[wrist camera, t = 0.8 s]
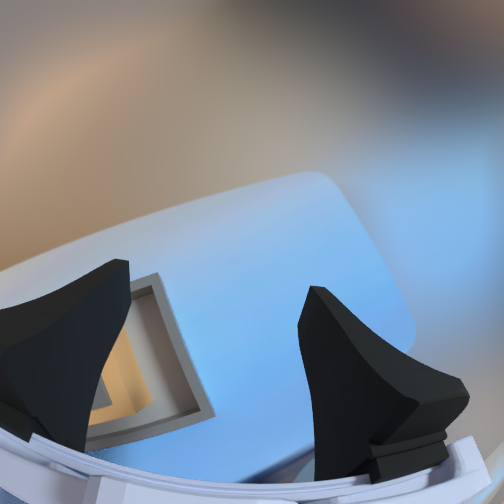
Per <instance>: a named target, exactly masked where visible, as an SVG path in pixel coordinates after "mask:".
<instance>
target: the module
mask: <svg viewBox="0 0 504 504" xmlns="http://www.w3.org/2000/svg"><path fill="white" fill-rule="evenodd" d="M151 402H153V400H152V398H151V396H150V393H149V391H148V389H147V386H146V384H145V381H144V379H143V376H142V374H141V371H140V369H139V366H138V364H137V361H136V358H135V356H134V353H133V350H132V347H131V344H130V341H129V339H128V336H127V333H126V330H125V327H124V326H123V328H122V330H121V332H120V334H119V336H118V338H117V340H116V342H115V344H114V346H113V348H112V350H111V352H110V354H109V357H108V359H107V361H106V363H105V365H104V368H103V370H102V373H101V376H100V379H99V383H98V386H97V390H96V393H95V397H94V401H93V405H92V409H91V414H90V419H89V424H88V426H89V425H94V424H98V423H102V422H107V421H111V420H114V419H118V418H122V417H126V416H130V415H133V414H136V413H138V412H139V411H140V410H142V409H143V408H145V407H146V406H147V405H149V404H150V403H151Z"/></svg>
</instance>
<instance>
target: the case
mask: <svg viewBox="0 0 504 504" xmlns="http://www.w3.org/2000/svg"><path fill="white" fill-rule="evenodd" d="M130 289H131V302H132V303H131V306H130V309H129V312H128V315H127V318H126V321H125V323H124V327H125V330H126V333H127V336H128V339H129V341H130V344H131V347H132V350H133V353H134V356H135V358H136V361H137V364H138V366H139V369H140V371H141V374H142V376H143V379H144V381H145V384H146V386H147V389H148V391H149V393H150V396H151V398H152V400H153V402H151V403H150V404H149V405H147V406H146V407H145V408H143V409H142V410H140V411H139V412H138V413H136V414H133V415H130V416H126V417H122V418H118V419H114V420H111V421H107V422H102V423H98V424H94V425H89V426H88V430H87V436H86V444H85V452H88V451H94V450H99V449H104V448H109V447H114V446H118V445H123V444H127V443H131V442H135V441H139V440H143V439H147V438H150V437H154V436H157V435H161V434H164V433H168V432H171V431H174V430H177V429H180V428H184V427H187V426H190V425H193V424H195V423H198V422H201V421H204V420H207V419H210V418H212V417H215V411H214V408H213V406H212V403H211V401H210V399H209V397H208V395H207V393H206V390H205V388H204V386H203V384H202V381H201V379H200V377H199V374H198V372H197V370H196V368H195V365H194V363H193V360H192V358H191V356H190V353H189V351H188V348H187V346H186V343H185V341H184V338H183V336H182V333H181V331H180V328H179V325H178V323H177V320H176V317H175V315H174V312H173V309H172V306H171V304H170V301H169V298H168V295H167V292H166V290H165V287H164V284H163V281H162V280H161V278H160V276H159V274H158V272H157V273H154V274H151V275H149V276H146V277H143V278H140V279H137V280H135V281H132V282H130Z"/></svg>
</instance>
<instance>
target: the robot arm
mask: <svg viewBox="0 0 504 504" xmlns="http://www.w3.org/2000/svg"><path fill="white" fill-rule="evenodd" d="M131 303H132V302H131V289H130V274H129V261H127V260H120V259H113V260H111V261H109V262H107V263H105V264H103V265H102V266H100V267H98V268H96V269H95V270H93V271H91V272H89V273H88V274H86V275H84V276H82V277H81V278H79V279H77V280H75V281H73V282H71V283H69V284H68V285H66V286H64V287H62V288H60V289H58V290H56V291H54V292H52V293H49V294H47V295H45V296H42V297H40V298H37V299H35V300H32V301H29V302H26V303H23V304H20V305H17V306H13V307H9V308H5V309H1V310H0V487H1V488H3V489H4V490H6V491H8V492H9V493H11V494H12V495H14V496H16V497H17V498H19V499H21V500H23V501H24V502H26V503H28V504H460V503H462V502H464V501H466V500H467V499H469V498H471V497H472V496H474V495H476V494H477V493H479V492H481V491H482V490H484V489H485V488H487V487H488V486H490V485H491V483H492V481H491V479H490V476H489V474H488V471H487V469H486V466H485V464H484V461H483V459H482V457H481V454H480V452H479V450H478V448H477V446H476V443H475V442H474V439H473V437H472V436H468V437H465V438H463V439H460V440H458V441H455V442H453V443H451V444H449V445H448V446H445V444H444V441H443V440H445V439H446V438H447V434H446V431H445V429H446V428H447V427H448V426H449V425H450V424H451V423H452V422H453V421H454V420H455V419H456V418H457V417H458V416H459V415H460V414H461V413H462V411H463V410H464V409H465V408H466V406H467V404H468V402H469V398H470V396H469V393H468V391H467V390H466V388H465V386H464V384H463V383H462V381H461V380H460V379H459V378H456V377H453V376H450V375H448V374H445V373H442V372H440V371H437V370H435V369H433V368H431V367H429V366H427V365H424V364H422V363H420V362H418V361H416V360H415V359H413V358H411V357H409V356H407V355H406V354H404V353H403V352H401V351H399V350H398V349H396V348H395V347H393V346H392V345H390V344H389V343H388V342H386V341H385V340H383V339H382V338H381V337H379V336H378V335H377V334H376V333H374V332H373V331H372V330H371V329H370V328H368V327H367V326H366V325H365V324H364V323H363V322H361V321H360V320H359V319H358V318H357V317H356V316H355V315H354V314H353V313H352V312H351V311H350V310H349V309H348V308H346V307H345V306H344V305H343V304H342V303H341V302H340V301H339V300H338V299H337V298H336V297H335V296H334V295H333V294H332V293H331V292H330V291H329V290H327V289H326V288H325V287H319V286H310V288H309V291H308V294H307V297H306V301H305V304H304V307H303V310H302V313H301V316H300V319H299V322H298V338H299V347H300V351H301V355H302V360H303V364H304V368H305V372H306V377H307V381H308V385H309V389H310V395H311V401H312V411H313V423H314V439H315V476H314V482H306V483H305V482H304V483H288V484H237V483H221V482H209V481H200V480H192V479H185V478H178V477H172V476H166V475H161V474H156V473H151V472H146V471H142V470H137V469H133V468H129V467H125V466H122V465H118V464H114V463H111V462H108V461H104V460H101V459H98V458H95V457H92V456H89V455H86V454H84V452H85V444H86V436H87V430H88V424H89V419H90V414H91V409H92V405H93V401H94V397H95V393H96V390H97V386H98V383H99V379H100V376H101V373H102V370H103V368H104V365H105V363H106V361H107V359H108V357H109V354H110V352H111V350H112V348H113V346H114V344H115V342H116V340H117V338H118V336H119V334H120V332H121V330H122V328H123V326H124V323H125V321H126V318H127V315H128V312H129V309H130V306H131Z"/></svg>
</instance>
